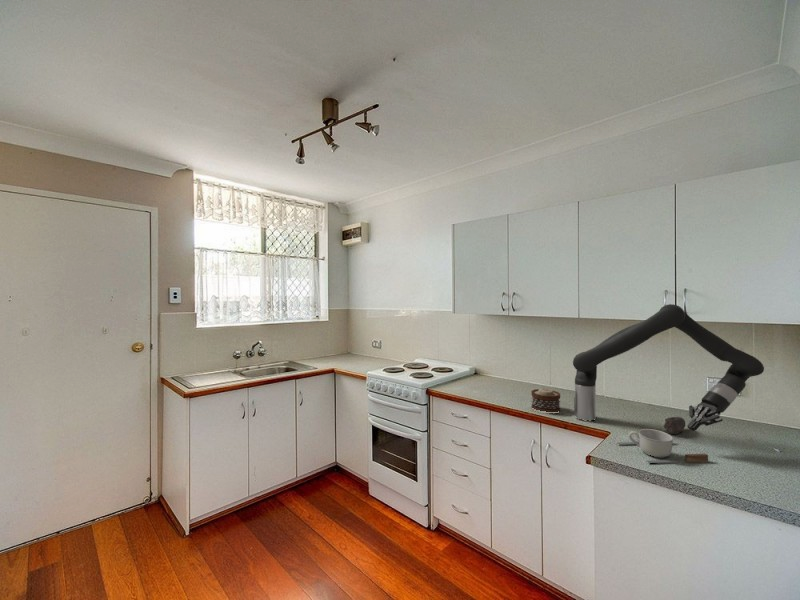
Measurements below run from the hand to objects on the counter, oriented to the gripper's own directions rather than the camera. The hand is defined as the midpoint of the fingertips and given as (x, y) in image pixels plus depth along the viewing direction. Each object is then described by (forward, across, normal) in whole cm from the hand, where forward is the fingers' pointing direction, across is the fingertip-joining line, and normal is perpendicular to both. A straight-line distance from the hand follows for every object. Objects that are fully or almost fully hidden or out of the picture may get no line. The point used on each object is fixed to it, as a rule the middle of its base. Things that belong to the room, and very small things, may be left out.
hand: (690, 429), depth 138 cm
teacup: (+18, 0, -6) cm, 19 cm away
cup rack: (+10, 0, +2) cm, 10 cm away
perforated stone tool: (-1, -19, +14) cm, 24 cm away
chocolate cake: (+29, -54, -16) cm, 63 cm away
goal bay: (+20, 0, -7) cm, 21 cm away
